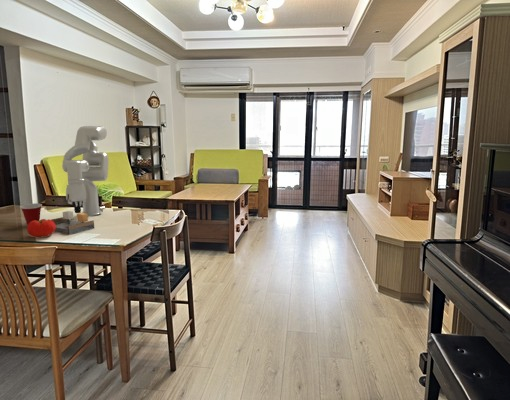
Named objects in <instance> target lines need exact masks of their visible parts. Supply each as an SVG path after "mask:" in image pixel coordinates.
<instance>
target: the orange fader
mask: <svg viewBox="0 0 510 400" xmlns="http://www.w3.org/2000/svg"><path fill="white" fill-rule="evenodd" d="M88 217H89V216H88V215H87V214H85V213H82V212H81V213H76V221H80V222H81V223H83V222H88V221H89V218H88Z"/></svg>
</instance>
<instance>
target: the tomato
mask: <svg viewBox="0 0 510 400" xmlns="http://www.w3.org/2000/svg"><path fill="white" fill-rule="evenodd" d="M55 230H56V225H55V223H54V222H53V221H52V220H51V219H46V218H40V220H39V221H36V220H33V221H31V222H30V223H29V224H28V225H26V231H27V234H28V235H29V236H31V237H34V238H37V239H38V238H45V237H49V236H50V235H52V234H53V233H55Z"/></svg>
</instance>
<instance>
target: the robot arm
mask: <svg viewBox="0 0 510 400" xmlns="http://www.w3.org/2000/svg"><path fill="white" fill-rule="evenodd" d="M106 138H107V129H106V127H105V126H103V125H85V126H80V127H79V128H78V129H77V132H76V136H75V140H74V145H73V146H72V147H70V148H69V149H68V150H67V151H66V152H65V153H64V155H63V160H62V170H63V172H65V173H67V183H68V184H67V185H66V188H65V199H66V202H67V204H68V205H72V206H73V208H74V210H73V211H74V214H79V213H85V214H87V215H88V217H93V216H99V215H102V213H103V212H102V210H103V211H104V210H105V209H106V207H105V206H99V194H98V186H97V185H96V184H95V183H94V182H104V181H107V179H108V177H109V176H108V175H109V163H110V162H109V161H110V160H109V156H108V154H107V153H106V152H104V151H102V152H101V151H98V146H97V144H96V143H95V142H94V141H102V140H104V139H106ZM81 155H82V159H74V158H76V157H79V156H81ZM81 207H82V208H81ZM82 210H83V211H82Z"/></svg>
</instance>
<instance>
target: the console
mask: <svg viewBox="0 0 510 400" xmlns="http://www.w3.org/2000/svg"><path fill="white" fill-rule="evenodd" d="M50 220H52V221H53V222H54V223H55V225H56V230H55V231H54V233H55V232H56V233H60V234H64V235H65V234H66V235H72V234H73V235H74V234H77V233H81V232H84V231H88V230H92V229H95V220H88V221H85V222H83V223H81V222H80V221H77V220H73V219H70V221H67V219H63V216H62V217H56V218H52V219H50Z"/></svg>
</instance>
